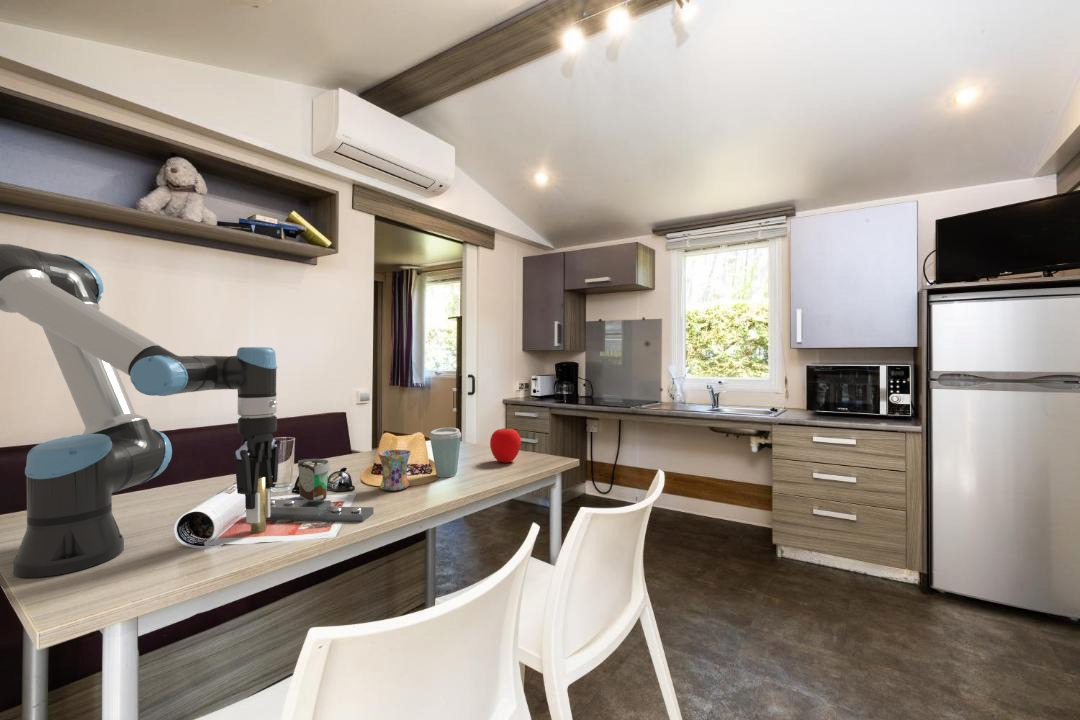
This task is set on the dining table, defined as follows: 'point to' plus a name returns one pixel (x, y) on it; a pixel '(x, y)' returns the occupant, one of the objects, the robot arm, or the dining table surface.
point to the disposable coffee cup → (445, 450)
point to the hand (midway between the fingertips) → (258, 519)
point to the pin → (261, 506)
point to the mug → (394, 469)
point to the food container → (313, 478)
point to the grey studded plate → (316, 511)
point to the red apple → (505, 444)
